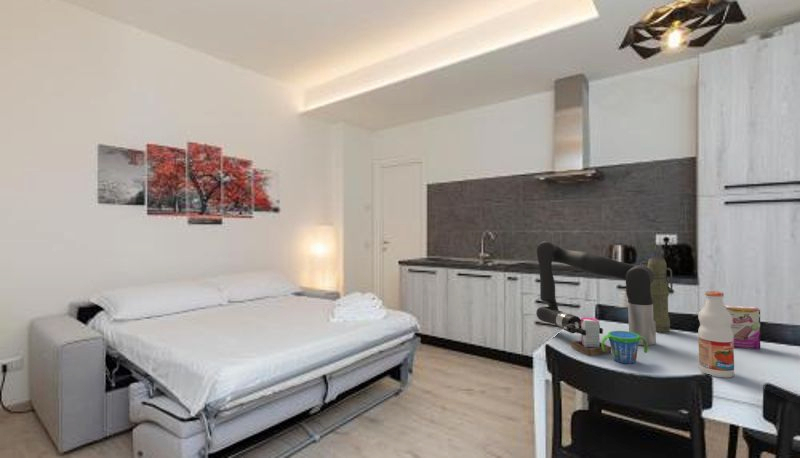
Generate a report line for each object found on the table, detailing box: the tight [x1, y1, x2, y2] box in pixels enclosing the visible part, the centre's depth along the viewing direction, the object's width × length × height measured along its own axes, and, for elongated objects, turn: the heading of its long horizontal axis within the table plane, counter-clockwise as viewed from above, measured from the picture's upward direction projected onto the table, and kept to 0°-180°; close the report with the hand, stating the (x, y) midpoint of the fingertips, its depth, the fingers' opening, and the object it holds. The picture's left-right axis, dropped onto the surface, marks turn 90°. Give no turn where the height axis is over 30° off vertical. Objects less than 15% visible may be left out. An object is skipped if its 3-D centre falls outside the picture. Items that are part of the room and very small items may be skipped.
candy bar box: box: [724, 304, 761, 350], centre depth 158 cm, size 11×5×16 cm, turn 65°
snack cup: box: [600, 330, 649, 364], centre depth 147 cm, size 16×10×10 cm
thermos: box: [646, 257, 673, 334], centre depth 184 cm, size 9×12×35 cm
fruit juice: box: [697, 290, 735, 379], centre depth 133 cm, size 9×9×28 cm
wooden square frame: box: [570, 340, 612, 357], centre depth 160 cm, size 11×11×2 cm
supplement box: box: [580, 317, 601, 348], centre depth 160 cm, size 6×6×12 cm
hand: (593, 332), depth 158 cm, fingers closed on supplement box, 7 cm apart
